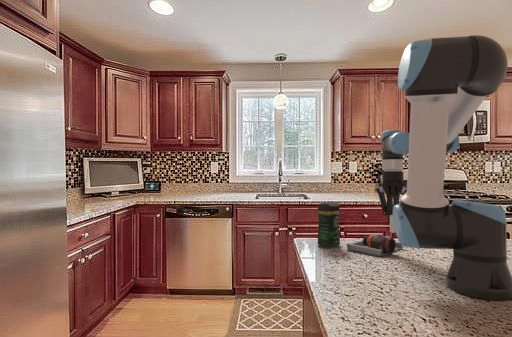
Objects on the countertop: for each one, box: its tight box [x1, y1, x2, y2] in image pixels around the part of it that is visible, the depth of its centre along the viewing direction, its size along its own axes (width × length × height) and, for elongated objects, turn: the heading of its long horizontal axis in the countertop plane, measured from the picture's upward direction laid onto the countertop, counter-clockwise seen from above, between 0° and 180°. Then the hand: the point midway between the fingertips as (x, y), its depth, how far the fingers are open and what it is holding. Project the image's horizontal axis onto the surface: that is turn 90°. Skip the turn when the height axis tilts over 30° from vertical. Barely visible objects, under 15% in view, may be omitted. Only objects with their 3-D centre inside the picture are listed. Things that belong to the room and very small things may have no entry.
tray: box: [346, 239, 404, 258], centre depth 128 cm, size 18×14×2 cm
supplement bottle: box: [362, 234, 396, 254], centre depth 124 cm, size 6×6×11 cm
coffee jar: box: [317, 201, 341, 249], centre depth 136 cm, size 10×8×19 cm
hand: (393, 231), depth 123 cm, fingers closed
